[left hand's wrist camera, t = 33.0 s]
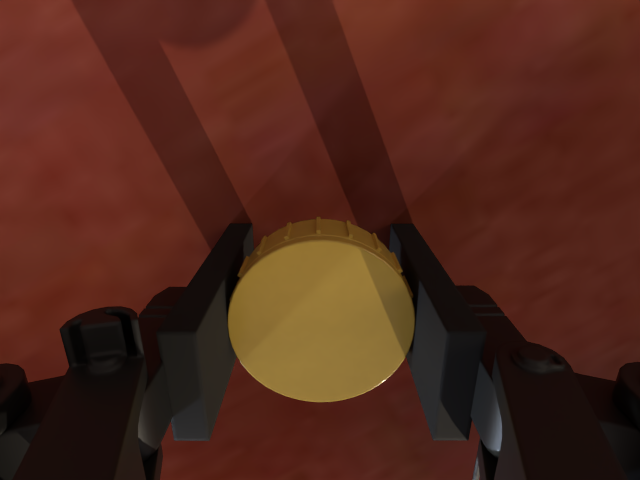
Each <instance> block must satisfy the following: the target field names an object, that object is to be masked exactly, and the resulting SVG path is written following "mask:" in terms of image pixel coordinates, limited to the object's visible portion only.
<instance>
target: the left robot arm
mask: <svg viewBox="0 0 640 480" xmlns="http://www.w3.org/2000/svg"><path fill="white" fill-rule="evenodd" d="M253 251H254V245H253V228H252V224H230V225H229V226H228V227H227V229H226V230H225V232H224V233H223V235H222V236H221V238H220V239H219V241H218V242H217V244H216V245H215V246H214V248H213V249H212V251H211V252H210V254H209V255H208V257H207V258H206V260H205V261H204V263H203V264H202V265H201V267H200V268H199V270H198V271H197V273H196V274H195V276H194V277H193V279H192V280H191V282H190V283H189V284H188V286H187V287H168V288H167V289H165V290H163V291H162V292H160V293H159V294H157V295H155V296H154V297H153V298H152V300H151V301H150V302H149V303H148V305H147V306H146V309H144V310H143V311H142V312H141V313H140V315H139V318H138V316H137V313H136V312H135V311H133V310H132V309H130V308H126V307H121V306H118V307H104V308H99V309H94V310H91V311H88V312H85V313H82V314H80V315H78V316H76V317H74V318H72V319H71V320H69V321H67V322H66V323H65V324H64V325H63V326H62V327H61V328H60V333H61V337H62V341H63V344H64V348H65V352H66V356H67V359H68V363H69V369H68V371H67V373H66V375H64V376H60V377H55V378H50V379H45V380H39V381H34V382H29V383H28V381H27V378H26V375H25V372H24V370H23V369H22V368H21V367H20V366H18V365H14V364H7V363H6V364H0V480H160V474H161V467H162V459H163V454H162V446H161V441H162V439H163V437H164V435H165V433H166V430H167V428H168V426H169V424H170V422H171V424H172V430H173V436H174V440H183V441H209V440H210V437H211V434H212V431H213V428H214V425H215V422H216V419H217V416H218V413H219V409H220V406H221V403H222V400H223V397H224V394H225V391H226V388H227V385H228V382H229V378H230V375H231V372H232V369H233V366H234V363H235V360H236V357H237V356H236V354H235V351H234V349H233V347H232V344H231V341H230V338H229V333H228V324H227V314H228V308H229V303H230V297H231V295H232V293H233V290H234V288H235V286H236V284H237V281H238V280H239V277H238V276H237V275H238V273H239V271H240V268H241V266H242V264H243V262H244V259H245V257H246V256H248V257H249V256H250V255H251V254H252V252H253ZM389 251H390V253H392V252H394V253H395V255H396V257H397V260H398V262H399V264H400V266H401V269H402V271H403V272H401V274H402V276H405V278H406V280H407V282H408V284H409V287H410V289H411V291H412V293H413V298H412V301H413V305H414V310H415V331H414V336H413V340H412V343H411V346H410V349H409V351H408V353H407V355H406V357H407V361H408V364H409V367H410V370H411V373H412V376H413V379H414V382H415V385H416V389H417V392H418V395H419V398H420V401H421V404H422V407H423V410H424V413H425V417H426V420H427V423H428V426H429V429H430V432H431V435H432V438H433V440H468V439H469V433H470V428H471V422H472V420H473V422H474V424H475V427H476V429H477V431H478V433H479V435H480V441H479V446H478V452H477V457H476V463H475V468H474V473H473V480H479V476H480V480H640V362H634V363H627V364H625V365H624V366H622V367H621V368H620V370H619V373H618V376H617V379H616V381H612V380H606V379H601V378H596V377H591V376H586V375H582V374H578V373H574V372H573V370H572V368H571V366H570V365H569V364H568V362H567V361H566V360H565V359H564V358H563V357H562V356H560V355H559V354H558V353H556V352H555V351H553V350H551V349H549V348H546V347H544V346H542V345H539V344H535V343H531V342H527V341H526V340H525V339H524V337H523V336H522V335H521V334H520V332H519V331H518V330H517V329H516V328H515V326H514V325H513V324H512V323H511V321H510V320H509V319H508V318H507V316H504V313H503V312H502V310H501V309H500V308H499V307H497V304H496V303H495V302H494V301H493V299H492V298H491V297H490V296H489V295H488V294H487V293H485V292H484V291H482V290H480V289H479V288H477V287H475V286H455V284H454V283H453V282H452V280H451V279H450V277H449V276H448V274H447V273H446V271H445V270H444V268H443V267H442V265H441V264H440V263H439V261H438V260H437V258H436V257H435V255H434V254H433V252H432V251H431V249H430V248H429V246H428V245H427V244H426V242H425V241H424V239H423V238H422V236H421V235H420V233H419V232H418V230H417V229H416V227H415V226H414V224H391V230H390V245H389Z"/></svg>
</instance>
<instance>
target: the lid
mask: <svg viewBox="0 0 640 480" xmlns="http://www.w3.org/2000/svg"><path fill="white" fill-rule="evenodd" d="M401 272H403V271H402V269H401V266H400V264H399V262H398V260H397V257H396V255H395V253H394V252H392V253H390V251H389V250H388V249H387V248H386V247H385V245H384V244H383V243H382V242H380V241H379V240H378V238H377V235H376V234H375V233H372V234H370V233H369V232H367V231H365V230H364V229H362V228H360V227H358V226H355V225H352V224H351V223H350V221H348V220H346V222H342V221H337V220H329V219H321V217H316V219H312V220H306V221H300V222H297V223H293V224H292V223H291V222H289V223H287V226H285V227H283V228H281V229H279V230H277V231H276V232H274V233H272V234H271V235H269V236H268V237H266V236H264V237H263V238H262V240H261V242H260V244H259V245H258V246H257V247H256V248H255V249H254V251H253V252H252V254H251V255H250V256H249V257H248V256H246V257H245V259H244V262H243V264H242V266H241V268H240V271H239V273H238V275H237V276H238V277H239V280H238V281H237V284H236V286H235V288H234V290H233V293H232V295H231V297H230V303H229V308H228V314H227V324H228V333H229V338H230V341H231V344H232V347H233V349H234V351H235V354H236V356H237V357H238V359H239V360H240V362H241V364H242V365H243V366H244V367H245V369H246V370H247V371H248V372H249V373H250V374H251V375H252V376H253V377H254V378H255V379H256V380H258V381H259V382H260V383H262V384H263V385H265V386H266V387H268V388H270V389H271V390H273V391H275V392H277V393H280V394H282V395H285V396H287V397H291V398H294V399H298V400H304V401H312V402H332V401H339V400H344V399H348V398H352V397H355V396H358V395H361V394H363V393H365V392H367V391H369V390H371V389H373V388H375V387H376V386H378V385H379V384H381V383H382V382H384V381H385V380H386V379H387V378H389V377H390V376H391V375H392V374H393V373H394V372H395V371H396V369H397V368H398V367H399V366H400V364H401V363H402V362H403V360H404V359H405V357H406V355H407V353H408V351H409V349H410V346H411V343H412V340H413V336H414V331H415V310H414V305H413V301H412V298H413V293H412V291H411V289H410V287H409V284H408V282H407V280H406V278H405V276H402V274H401Z"/></svg>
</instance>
